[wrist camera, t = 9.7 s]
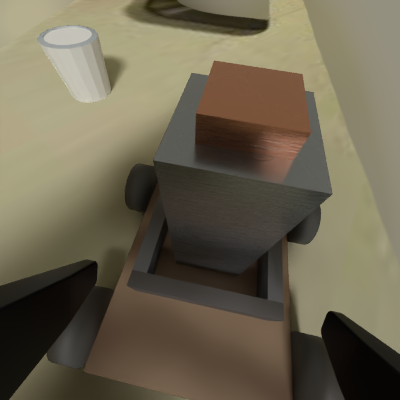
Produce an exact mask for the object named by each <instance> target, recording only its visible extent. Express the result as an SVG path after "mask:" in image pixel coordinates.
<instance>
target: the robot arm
mask: <svg viewBox="0 0 400 400" xmlns="http://www.w3.org/2000/svg"><path fill="white" fill-rule="evenodd" d="M97 268H98V264H97V262H96V261H92V260H83V261H80V262H76V263H73V264H70V265H67V266H63V267H60V268H57V269H54V270H50V271H47V272H44V273H41V274H37V275H34V276H31V277H28V278H24V279H21V280H18V281H15V282H11V283H8V284H5V285H2V286H0V400H9V399H10V398H11V396H12V395H13V394H14V393H15V391H16V390H17V389H18V388H19V386H20V385H21V384H22V383H23V381H24V380H25V379H26V378H27V376H28V375H29V374H30V373H31V371H32V370H33V369H34V368H35V366H36V365H37V364H38V363H39V361H40V360H41V359H42V358H43V356H44V355H45V354H46V353H47V351H48V350H49V349H50V348H51V346H52V345H53V344H54V343H55V341H56V340H57V339H58V338H59V336H60V335H61V334H62V333H63V331H64V330H65V329H66V327H67V326H68V325H69V324H70V322H71V321H72V319H73V318H74V316H75V315H76V313H77V312H78V310H79V309H80V307H81V306H82V304H83V303H84V301H85V300H86V298H87V297H88V295H89V294H90V292H91V291H92V289H93V288H94V286H95V284H96V281H97ZM321 335H322V338H323V341H324V344H325V347H326V350H327V353H328V356H329V359H330V362H331V365H332V368H333V371H334V374H335V377H336V379H337V382H338V385H339V387H340V390H341V392H342V395H343V397H344V399H345V400H400V354H399V353H397V352H396V351H395V350H393V349H392V348H390V347H389V346H388V345H386V344H385V343H383V342H382V341H380V340H379V339H378V338H376V337H375V336H373V335H372V334H370V333H369V332H368V331H366V330H365V329H363V328H362V327H361V326H359V325H358V324H356V323H355V322H353V321H352V320H351V319H349V318H348V317H346V316H345V315H344V314H342V313H339V312H334V311H329V312H328V313H327V315H326V317H325V320H324V323H323V325H322V328H321Z"/></svg>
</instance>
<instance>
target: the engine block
mask: <svg viewBox="0 0 400 400" xmlns="http://www.w3.org/2000/svg"><path fill="white" fill-rule="evenodd" d="M153 162H154V167H155V171H156V176H157V180H158V185H159V189H160V193H161V198H162V202H163V207H164V211H165V216H166V220H167V225H168V229H169V234H170V238H171V243H172V247H173V252H174V256H175V261H176V263H177V264H182V265H187V266H191V267H196V268H200V269H205V270H209V271H214V272H218V273H223V274H227V275H232V276H236V277H238V276H239V275H240V274H241V273H242V272H243V271H245V270H246V269H247V268H248V267H249V266H250V265H251V264H253V263H254V262H255V261H256V260H257V259H258V258H259V257H261V256H262V255H263V254H264V253H265V252H266V251H268V250H269V249H270V248H271V247H272V246H273V245H274V244H276V243H277V242H278V241H279V240H280V239H281V238H283V237H284V236H285V235H286V234H287V233H288V232H289V231H291V230H292V229H293V228H294V227H295V226H296V225H298V224H299V223H300V222H301V221H302V220H303V219H304V218H306V217H307V216H308V215H309V214H310V213H311V212H312V211H314V210H315V209H316V208H317V207H318V206H319V205H321V204H322V203H323V202H324V201H325V200H326V199H327V198H329V197H330V196H331V195H332V188H331V183H330V178H329V172H328V167H327V162H326V157H325V151H324V146H323V141H322V135H321V130H320V125H319V119H318V114H317V109H316V103H315V98H314V93H313V92H309V91H305V88H304V81H303V75H302V74H298V73H291V72H285V71H278V70H272V69H265V68H259V67H252V66H246V65H239V64H233V63H226V62H220V61H214V63H213V65H212V68H211V71H210V74H209V76H208V75H201V74H195V73H191V76H190V78H189V80H188V82H187V85H186V87H185V89H184V91H183V94H182V96H181V98H180V100H179V103H178V105H177V107H176V110H175V112H174V114H173V116H172V119H171V121H170V123H169V125H168V128H167V130H166V132H165V134H164V137H163V139H162V141H161V143H160V146H159V148H158V150H157V152H156V155H155V157H154V159H153Z"/></svg>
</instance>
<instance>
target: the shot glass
mask: <svg viewBox="0 0 400 400" xmlns="http://www.w3.org/2000/svg"><path fill="white" fill-rule="evenodd" d="M37 39H38V42H39V44H40V45H41V47H42V49H43V50H44V52H45V53H46V55H47V57H48V58H49V60H50V61H51V63H52V64H53V66H54V68H55V69H56V71H57V72H58V74H59V76H60V77H61V79H62V80H63V82H64V83H65V85H66V87H67V88H68V90H69V91H70V93H71V95H72V96H73V98H74V99H76V100H78V101H80V102H85V103H86V102H96V101H100V100H102V99H104V98H106V97H107V96H108V95H109V94H110V93H111V87H110V82H109V78H108V74H107V70H106V66H105V62H104V57H103V53H102V49H101V45H100V41H99V37H98V34H97V32H96V31H95V30H94V29H91V28H89V27H85V26H79V25H68V26H60V27H55V28H52V29H49V30H46V31H45V32H43V33H41V34H40V35H39V37H38V38H37Z"/></svg>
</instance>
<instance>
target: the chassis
mask: <svg viewBox="0 0 400 400" xmlns="http://www.w3.org/2000/svg"><path fill="white" fill-rule="evenodd" d="M125 201H126V205H127V207H128V208H129V209H131V210H136V211H141V212H145V214H144V217H143V219H142V222H141V224H140V227H139V230H138V232H137V235H136V237H135V240H134V242H133V245H132V247H131V250H130V253H129V255H128V258H127V260H126V263H125V265H124V268H123V270H122V273H121V275H120V278H119V281H118V283H117V286H116V288H115V291H113V290H112V289H108V288H104V287H100V286H94V288H93V289H92V291H91V292H90V294H89V295H88V297H87V298H86V300H85V301H84V303H83V304H82V306H81V307H80V309H79V310H78V312H77V313H76V315H75V316H74V318H73V319H72V321H71V322H70V324H69V325H68V326H67V327H66V329H65V330H64V331H63V333H62V334H61V335H60V336H59V338H58V339H57V340H56V341H55V343H54V344H53V345H52V346H51V348H50V349H49V350H48V351H47V357H48V360H49V361H50V362H52V363H56V364H60V365H64V366H68V367H72V368H76V369H78V368H81V367H82V366H84V365H85V364H86V365H85V367H84V370H83V372H85V373H89V374H93V375H97V376H101V377H105V378H109V379H112V380H116V381H120V382H124V383H128V384H132V385H136V386H140V387H143V388H147V389H151V390H155V391H159V392H163V393H167V394H171V395H174V396H178V397H182V398H186V399H190V400H345V399H344V397H343V395H342V392H341V390H340V387H339V385H338V382H337V379H336V377H335V374H334V371H333V368H332V365H331V362H330V359H329V356H328V353H327V350H326V347H325V344H324V341H323V338H321V337H318V336H313V335H309V334H305V333H300V332H296V331H293V332H291V325H290V299H289V274H288V248H287V241H289V242H294V243H299V244H303V245H305V244H308V243H310V242H311V241H312V240H313V238H314V237H315V235H316V233H317V231H318V228H319V225H320V219H321V209H320V205H319V206H318V207H317V208H316V209H315V210H314V211H312V212H311V213H310V214H309V215H308V216H307V217H306V218H304V219H303V220H302V221H301V222H300V223H299V224H298V225H296V226H295V227H294V228H293V229H292V230H291V231H289V232H288V233H287V234H286V235H285V236H284V237H283V238H281V239H280V240H279V241H278V242H277V243H276V244H274V245H273V246H272V247H271V248H270V249H269V250H268V251H266V252H265V253H264V254H263V255H262V256H261V257H259V258H258V259H257V260H256V261H255V262H254V263H253V264H251V265H250V266H249V267H248V268H247V269H246V270H245V271H243V272H242V273H241V274H240V275H239V276H238V277H236V276H232V275H227V274H223V273H218V272H214V271H209V270H205V269H200V268H196V267H191V266H187V265H182V264H177V263H176V261H175V256H174V252H173V247H172V243H171V238H170V234H169V229H168V225H167V220H166V216H165V211H164V207H163V202H162V198H161V193H160V189H159V185H158V180H157V176H156V171H155V167H154V166H149V165H144V164H136V165H135V166H134V167H133V168H132V170H131V171H130V174H129V176H128V179H127V183H126V188H125Z"/></svg>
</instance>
